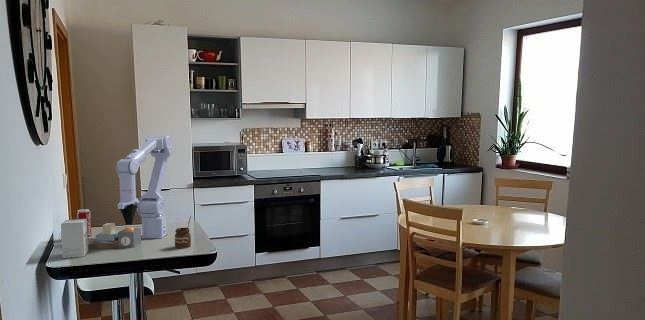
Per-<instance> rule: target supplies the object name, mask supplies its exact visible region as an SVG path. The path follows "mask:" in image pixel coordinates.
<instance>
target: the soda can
mask: <svg viewBox="0 0 645 320" xmlns="http://www.w3.org/2000/svg"><path fill="white" fill-rule="evenodd" d="M91 213H92V212H91V211H90V209H88V208H85V209H84V208H82V209H78V210H77V212H76V219H87V232H88V238H92V222H91V221H92V220H91V219H92V218H91V215H92V214H91Z"/></svg>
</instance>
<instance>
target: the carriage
mask: <svg viewBox="0 0 645 320" xmlns="http://www.w3.org/2000/svg"><path fill="white" fill-rule="evenodd" d="M119 231H120V230H116V223H115V222H109V223H104V224H102V232H100V233H97V234H96V235H95V238H96V241H114V240H116V239H118V232H119Z"/></svg>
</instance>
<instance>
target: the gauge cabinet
mask: <svg viewBox="0 0 645 320" xmlns="http://www.w3.org/2000/svg"><path fill="white" fill-rule="evenodd" d="M133 228H134V231H126V232H124V228H123V229H121V230H118V231H119V232H118V248H119V249H121V248H122V249H123V248H125V249H126V248H129V249H130V248H133V249H134V248H136V247H137V246H139V245H141V243H142V238H141V236H142V229H141V228H139V227H138V228H135V227H133ZM118 248H117V249H118Z"/></svg>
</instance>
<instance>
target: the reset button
mask: <svg viewBox="0 0 645 320" xmlns="http://www.w3.org/2000/svg"><path fill="white" fill-rule="evenodd" d="M134 228H135V227H131V226H130V227H125V228H123V229H124V232H126V231H134Z"/></svg>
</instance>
